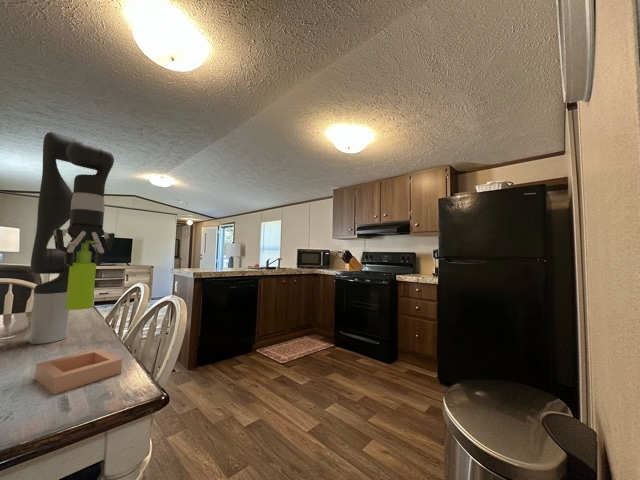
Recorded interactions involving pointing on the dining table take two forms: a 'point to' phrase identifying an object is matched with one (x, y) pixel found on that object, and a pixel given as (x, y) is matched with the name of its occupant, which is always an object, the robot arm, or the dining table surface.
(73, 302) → the green pump bottle
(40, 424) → the dining table surface
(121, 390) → the dining table surface
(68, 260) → the robot arm
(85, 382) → the tray
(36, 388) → the dining table surface
